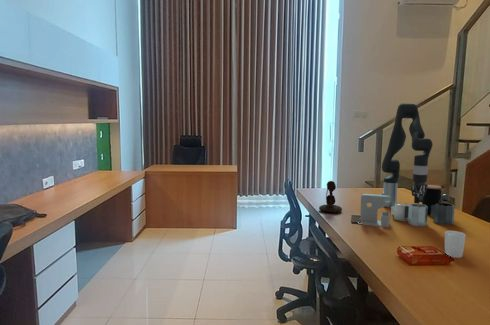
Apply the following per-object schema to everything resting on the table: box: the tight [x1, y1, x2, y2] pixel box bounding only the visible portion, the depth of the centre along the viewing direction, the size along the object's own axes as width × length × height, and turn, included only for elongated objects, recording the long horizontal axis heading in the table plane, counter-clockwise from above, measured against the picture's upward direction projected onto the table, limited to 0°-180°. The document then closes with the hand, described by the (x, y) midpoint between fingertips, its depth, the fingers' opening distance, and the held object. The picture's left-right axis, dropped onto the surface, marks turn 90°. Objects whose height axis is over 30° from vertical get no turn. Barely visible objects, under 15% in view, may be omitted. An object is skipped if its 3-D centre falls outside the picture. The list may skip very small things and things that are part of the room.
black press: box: [430, 193, 456, 226], centre depth 208 cm, size 12×9×17 cm
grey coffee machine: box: [357, 193, 391, 228], centre depth 205 cm, size 17×10×18 cm, turn 69°
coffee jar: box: [421, 184, 443, 216], centre depth 229 cm, size 11×11×18 cm
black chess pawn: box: [318, 180, 343, 215], centre depth 233 cm, size 15×15×20 cm
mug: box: [390, 202, 409, 222], centre depth 216 cm, size 10×8×9 cm
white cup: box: [444, 230, 467, 259], centre depth 156 cm, size 8×8×10 cm
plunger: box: [416, 194, 423, 207], centre depth 204 cm, size 6×6×16 cm
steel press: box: [404, 203, 428, 227], centre depth 206 cm, size 12×9×11 cm
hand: (418, 202), depth 204 cm, fingers closed on plunger, 4 cm apart
